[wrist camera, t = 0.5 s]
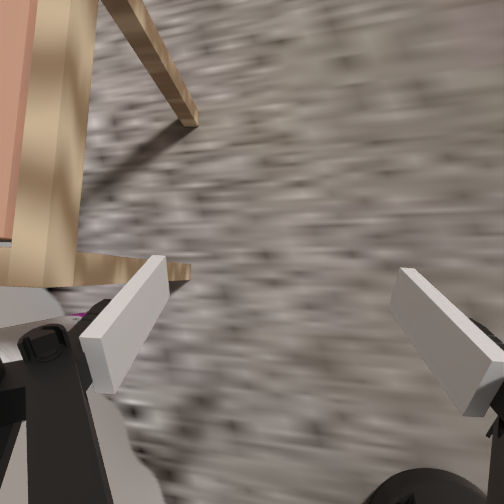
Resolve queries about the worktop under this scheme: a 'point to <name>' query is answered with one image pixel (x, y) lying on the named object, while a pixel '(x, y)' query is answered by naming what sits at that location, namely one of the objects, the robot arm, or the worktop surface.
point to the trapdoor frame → (74, 144)
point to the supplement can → (6, 339)
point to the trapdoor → (13, 99)
